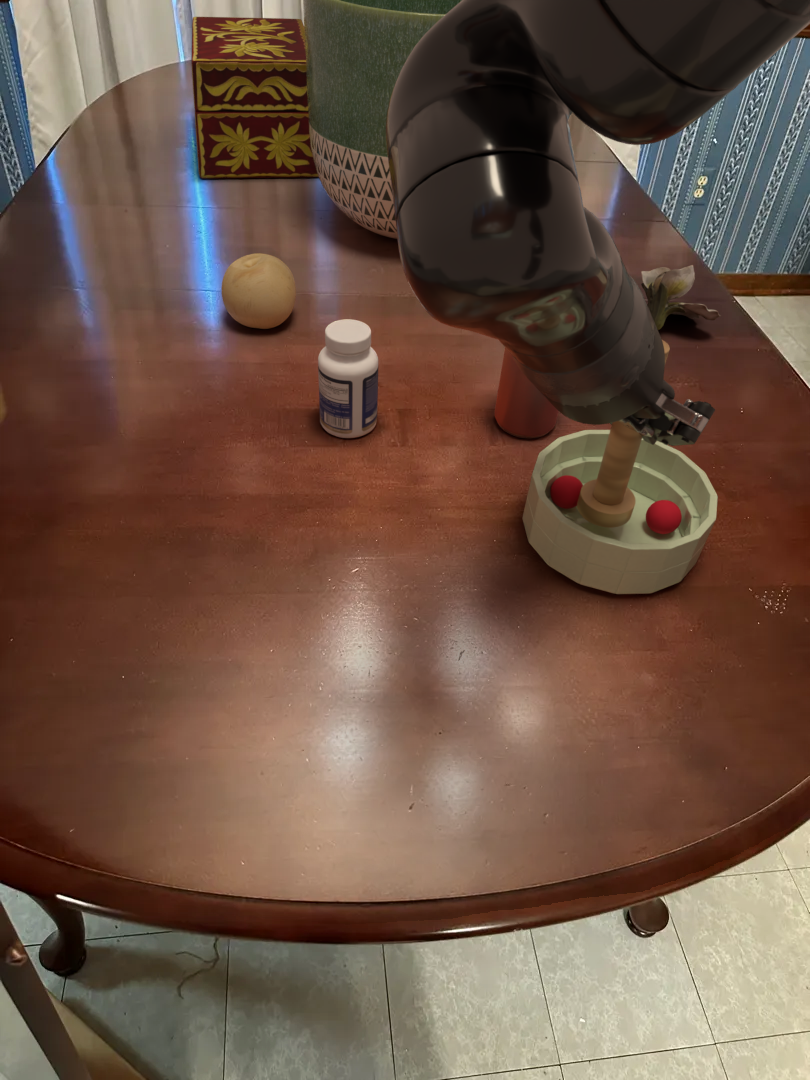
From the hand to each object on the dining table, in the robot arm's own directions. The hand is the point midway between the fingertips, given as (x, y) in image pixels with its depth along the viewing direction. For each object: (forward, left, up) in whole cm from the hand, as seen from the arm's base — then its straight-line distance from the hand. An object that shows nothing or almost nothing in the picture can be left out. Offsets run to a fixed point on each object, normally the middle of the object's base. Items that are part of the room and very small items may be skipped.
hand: (639, 422), depth 60 cm
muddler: (0, +2, -7) cm, 8 cm away
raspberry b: (-4, -1, -8) cm, 9 cm away
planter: (+50, -32, -10) cm, 60 cm away
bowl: (-1, +2, -10) cm, 10 cm away
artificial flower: (+16, -28, -10) cm, 34 cm away
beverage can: (+13, -6, -10) cm, 17 cm away
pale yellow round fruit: (+45, -1, -10) cm, 46 cm away
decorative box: (+86, -37, -10) cm, 94 cm away
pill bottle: (+25, +6, -10) cm, 28 cm away
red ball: (+3, +2, -8) cm, 9 cm away
